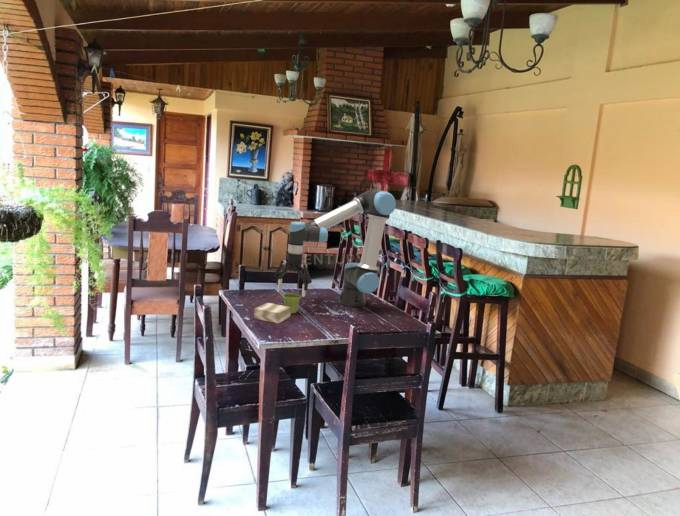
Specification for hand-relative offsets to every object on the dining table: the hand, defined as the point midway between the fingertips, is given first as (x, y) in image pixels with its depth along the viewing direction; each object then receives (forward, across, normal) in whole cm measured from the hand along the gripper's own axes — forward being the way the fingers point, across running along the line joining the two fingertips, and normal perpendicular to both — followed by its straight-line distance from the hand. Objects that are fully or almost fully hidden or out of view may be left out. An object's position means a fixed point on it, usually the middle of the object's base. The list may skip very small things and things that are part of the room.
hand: (291, 293), depth 268 cm
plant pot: (+10, 0, 0) cm, 10 cm away
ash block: (+10, -3, -14) cm, 17 cm away
